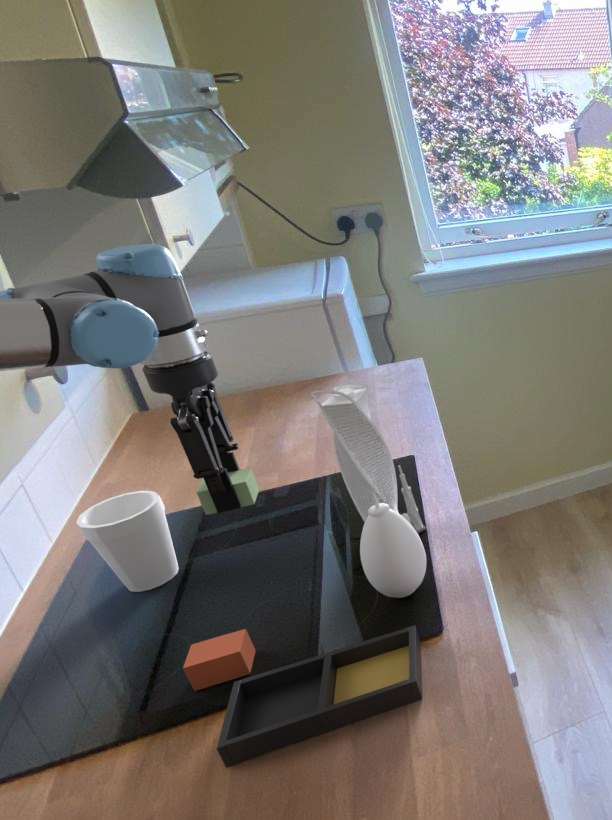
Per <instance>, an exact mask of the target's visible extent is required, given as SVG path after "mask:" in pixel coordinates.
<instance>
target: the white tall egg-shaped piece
mask: <svg viewBox="0 0 612 820" xmlns="http://www.w3.org/2000/svg"><path fill="white" fill-rule="evenodd" d="M372 495H373V500H374V503H375V505H373V506H372V507H370V508H369V510H368V515H369V516H368V517H367V519H366V521H365V523H363V526H362V531H361V535H360V540H359V541H360V543H359V557H360V563H361V566H362V569H363V572H364V575H365V577H366V579H367V580H368V582H369V583H370V585H371V586H372V587H373V588H374V589H375V590H376V591H378V593H381V594H382V595H384V596H386V597H389V598H397V599H402V598H406V597H409V596H410V595H412V594H413V593H414V592H416V590H417V589H418V588H419V587H420V586H421V584H422V583H423V581H424V579H425V576H426V572H427V571H426V570H427V554H426V550H425V546H424V544H423V542H422V540H421V539H422V538H421V537H420V535H419V533H418V534H417V532H416V531H415V529H414V528H413V527H412V525H411V524H410V523H409V522H408V521H407V520H406V519H405V518H404V517H403V516H401V515H402V514H400V513H399V512H398V513H397V512H396V511H394V510H392V509H390V508H389V505H388V504H385V503H378V500H377V498H376V495H375V493H374V492H372Z"/></svg>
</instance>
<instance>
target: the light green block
mask: <svg viewBox="0 0 612 820" xmlns="http://www.w3.org/2000/svg"><path fill="white" fill-rule="evenodd" d="M228 474H229V477H230V479H231V482H232V484H233V487H234V490H235V492H236V495H237V497H238V500H239V502H240V505H241V507H240V508H243V507H249V506H252V505H255V504H256V501H257V498H258V495H259V492H260V487H259V484H258V482H257V480H256V476H255V474H254V471H253V469H252V467H248V468H247V467H246V468H243V469H240V470H238V471H233V472H228ZM196 495H197V497H198V500H199V502H200V505H201V507H202V509H203V511H204V514H205V516H209V515H213V514H219V513H218V512H217V510H216V507H215V505H214V503H213V500H212V498H211V495H210V493H209V491H208V488H207V486H206V483H205V481H204V478H202V480H201V482H200V484H199V486H198V488H197V490H196Z"/></svg>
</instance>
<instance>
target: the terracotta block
mask: <svg viewBox="0 0 612 820" xmlns="http://www.w3.org/2000/svg"><path fill="white" fill-rule="evenodd" d="M255 655H256V648H255V645H254V644H253V642H252V640H251V637H250V635H249V632H248V629H246V628H244V629H240V630H237V631H234V632H229V633H226V634H223V635H220V636H216V637H213V638H209V639H205V640H201V641H199V642H195V643H192V644H190V647H189V650H188V653H187V656H186V659H185V661H184V664H183V666H182V670H183V672H184V674H185V675H186V678H187V679H188V681H189V684H190V685H191V687H192V689H193V691H194V692H197V691H201V690H204V689H207V688H210V687H214V686H216V685H219V684H222V683H226V682H229V681H232V680H236V679H238V678H239V679H240V678H241V677H245V676H249V675H251V672H252V668H253V663H254V659H255Z"/></svg>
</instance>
